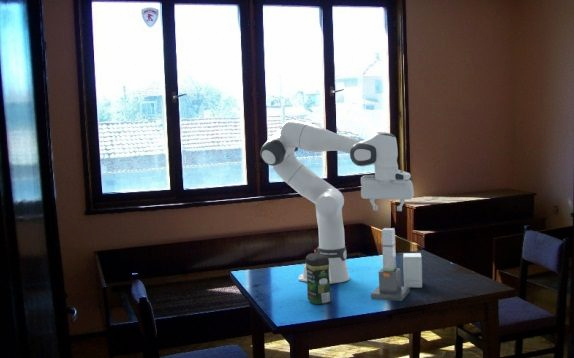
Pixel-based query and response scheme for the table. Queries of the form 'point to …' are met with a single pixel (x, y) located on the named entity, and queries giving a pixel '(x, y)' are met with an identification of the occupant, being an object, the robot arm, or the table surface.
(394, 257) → the column
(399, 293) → the stand
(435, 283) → the table surface
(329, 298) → the coffee jar
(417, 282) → the supplement box
